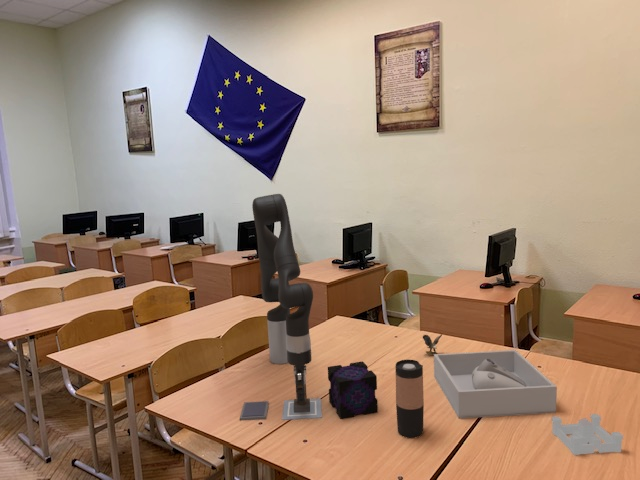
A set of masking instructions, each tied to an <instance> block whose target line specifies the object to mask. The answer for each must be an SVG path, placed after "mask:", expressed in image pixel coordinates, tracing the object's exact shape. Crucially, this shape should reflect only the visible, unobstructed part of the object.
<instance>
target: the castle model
mask: <svg viewBox="0 0 640 480" xmlns="http://www.w3.org/2000/svg"><path fill="white" fill-rule="evenodd" d="M590 419H591V421H590V420H589V419H588V418H586V417H585V418H581V419H578V420H577V421H578V422H577V423H568V424H567V423H566V424H563V419H561V417H559V416H551V421H552V424H551V425H552V427H551V428H552V429H551V430H552V431H551V432H552V435H554V436H555V437H557V439H559V440H560V442H562V444H563V445H564V446H565V447H566V448H567V449H568V450H569V452H570V453H571V454H572V455H573V456H580V455H584V454H585V455H586V454H597V453H596V451H597V452H598V453H599V454H601V456H602V453H622V445H623V444H622V443H623V441H622V440H624V435H623V434H622V433H621V432H620V431H611V432H610V433H611V434H610V433H609V432H608V431H606V429H605V428H603V427H602V426H601V425H600V424H601V421H602V417H601V416H600V415H599V414H598V413H592V414H590ZM595 433H596V434H595ZM568 435H569V436H568ZM603 440H604V441H603ZM602 441H603V442H602Z"/></svg>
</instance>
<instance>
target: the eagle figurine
mask: <svg viewBox="0 0 640 480" xmlns="http://www.w3.org/2000/svg"><path fill="white" fill-rule="evenodd" d="M442 336H443V334H442V333H441V334H440V335H438V336H437V337H436V338H434V340H432V339H431V336H429V335H428V334H423V336H422V339H423V341H424V344H425V345H426V348H427V349H429V350H428V351H427V350H425V353H426V354H423V357H424V356H429V355H434V354H439V353H438V352H437V351H436V349H437V350H438V347H437V346H436V345H438V343H439V340H440V339H441V338H442ZM432 349H433V351H432Z"/></svg>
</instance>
